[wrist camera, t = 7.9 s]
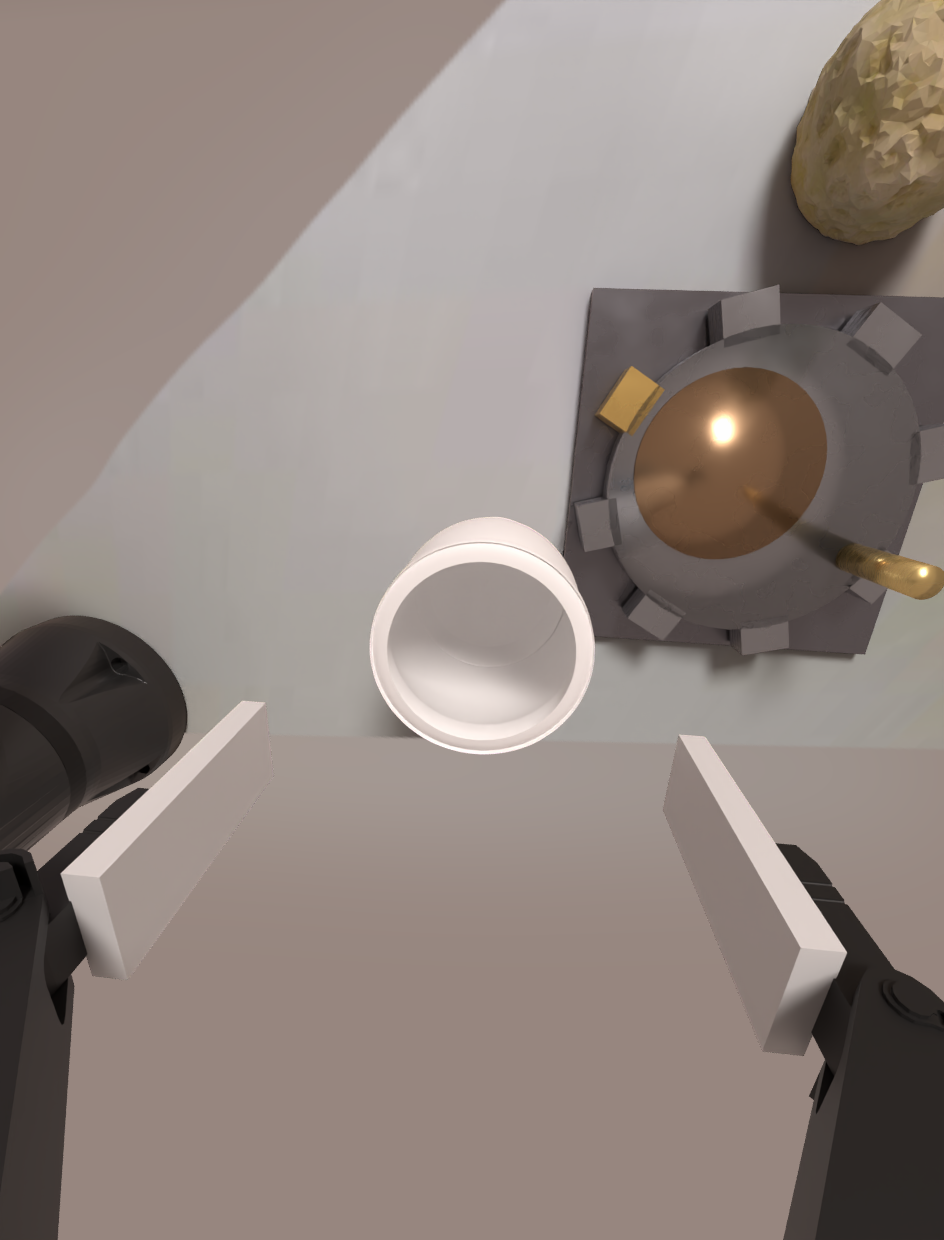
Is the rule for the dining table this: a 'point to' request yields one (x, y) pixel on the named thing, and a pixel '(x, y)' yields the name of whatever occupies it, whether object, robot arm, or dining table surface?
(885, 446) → the sprocket
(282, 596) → the dining table surface
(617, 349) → the base plate
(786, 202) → the dining table surface
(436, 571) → the jar
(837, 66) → the decorative object
